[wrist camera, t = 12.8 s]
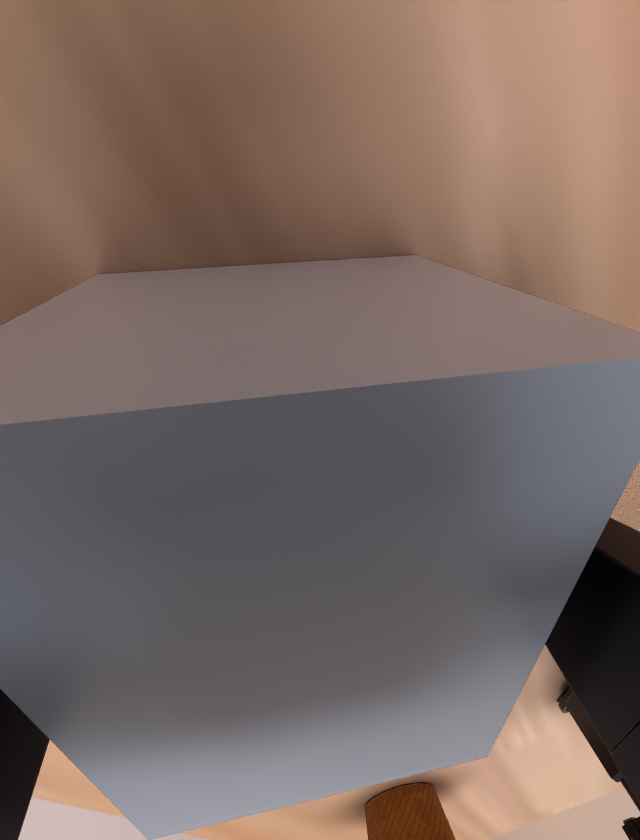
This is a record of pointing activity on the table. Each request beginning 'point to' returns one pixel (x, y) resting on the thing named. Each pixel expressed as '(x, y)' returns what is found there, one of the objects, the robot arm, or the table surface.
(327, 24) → the table surface
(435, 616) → the grey rectangular block
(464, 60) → the table surface
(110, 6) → the table surface
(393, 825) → the disposable coffee cup
